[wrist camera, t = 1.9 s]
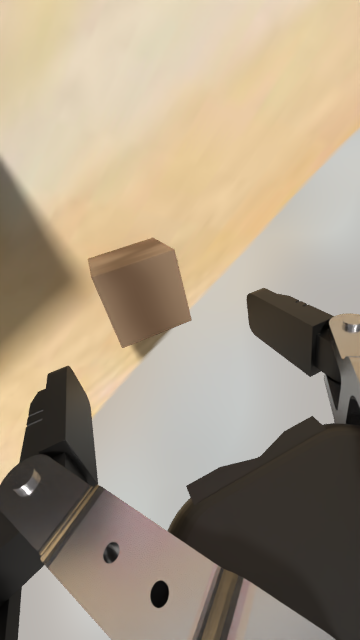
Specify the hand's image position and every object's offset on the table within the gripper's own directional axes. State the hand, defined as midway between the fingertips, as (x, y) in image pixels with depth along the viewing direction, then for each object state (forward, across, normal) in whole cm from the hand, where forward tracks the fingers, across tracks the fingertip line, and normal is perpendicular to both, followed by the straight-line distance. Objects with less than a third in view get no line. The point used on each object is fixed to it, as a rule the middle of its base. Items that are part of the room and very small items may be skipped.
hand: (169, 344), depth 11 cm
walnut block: (+11, 0, 0) cm, 11 cm away
